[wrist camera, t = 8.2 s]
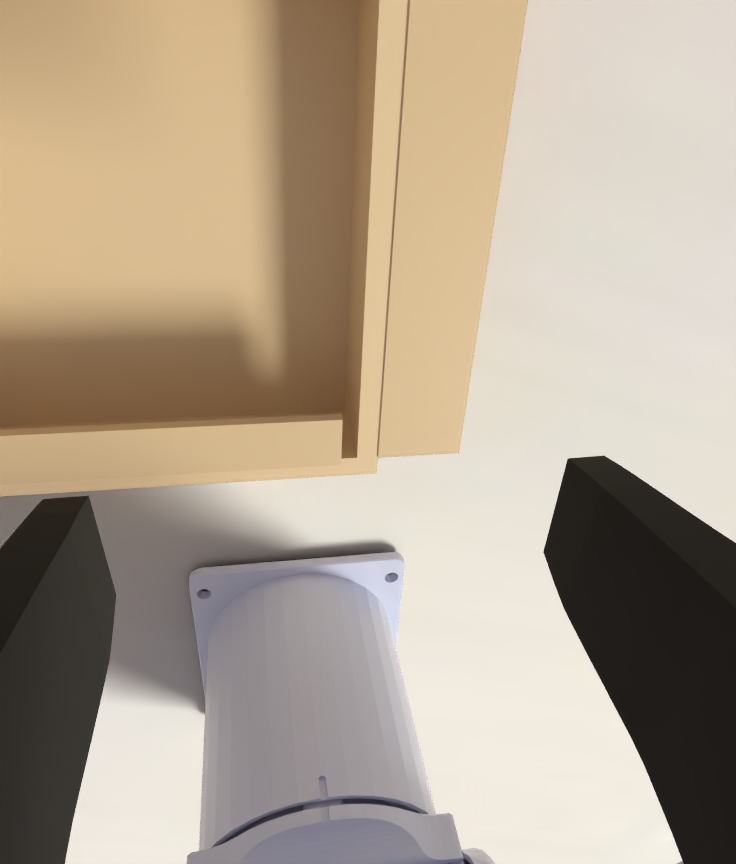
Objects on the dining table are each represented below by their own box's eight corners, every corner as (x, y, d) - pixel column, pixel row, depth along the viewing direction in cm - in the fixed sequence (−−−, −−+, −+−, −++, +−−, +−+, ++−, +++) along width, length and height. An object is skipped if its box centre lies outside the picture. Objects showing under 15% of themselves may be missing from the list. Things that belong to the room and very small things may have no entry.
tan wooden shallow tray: (431, 415, 22) (458, 474, 19) (-132, 442, 19) (-193, 515, 16) (498, -142, 14) (559, -174, 11) (-433, -233, 11) (-643, -304, 9)
